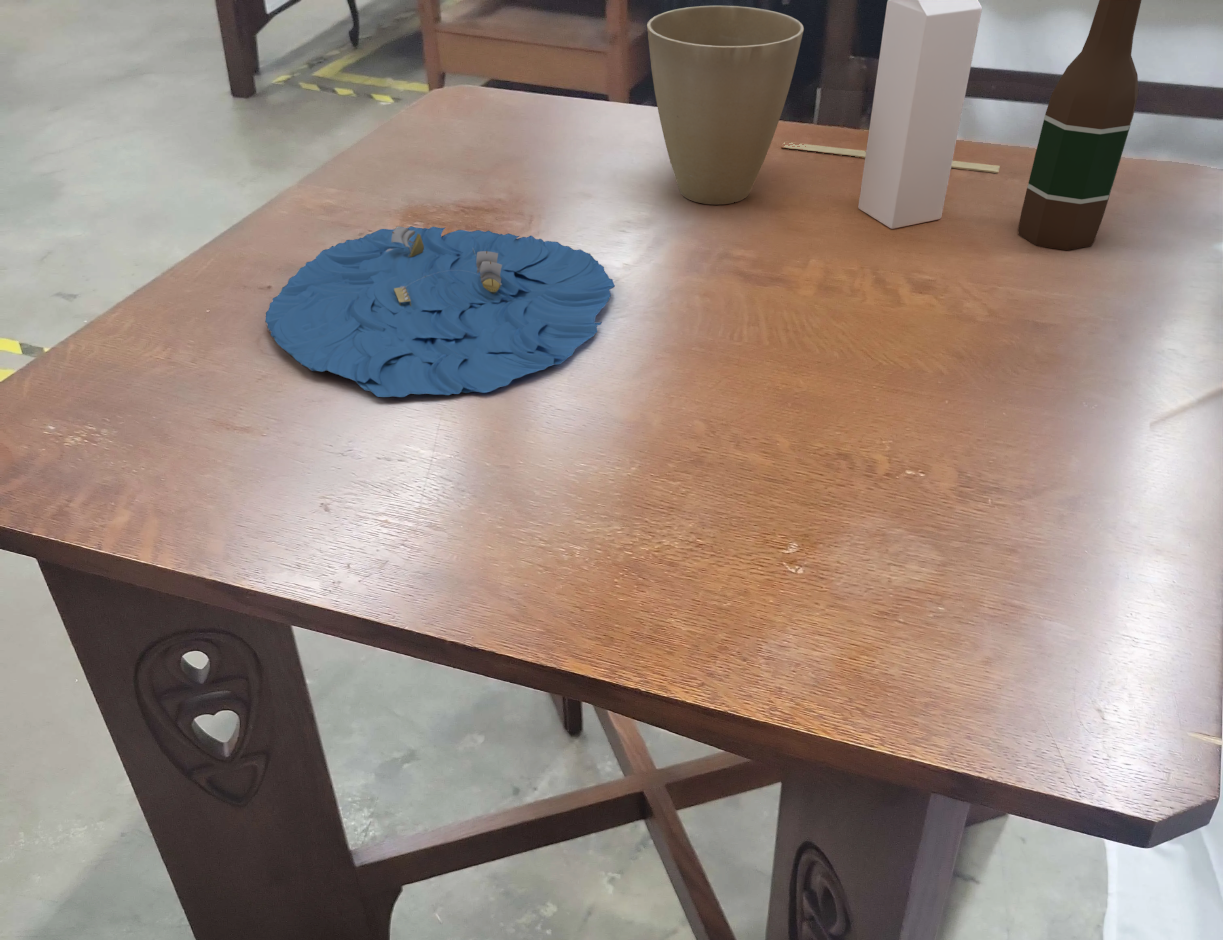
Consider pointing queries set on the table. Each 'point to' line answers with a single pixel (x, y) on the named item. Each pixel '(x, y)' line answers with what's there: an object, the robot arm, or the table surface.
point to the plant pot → (721, 93)
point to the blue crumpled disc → (439, 309)
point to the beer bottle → (1084, 134)
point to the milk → (917, 108)
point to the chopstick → (863, 153)
